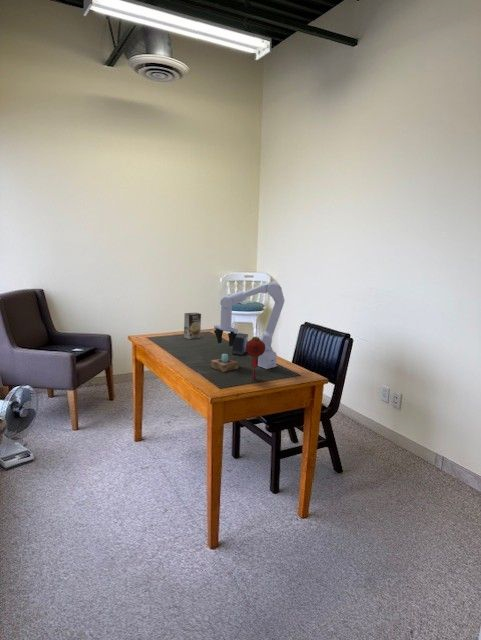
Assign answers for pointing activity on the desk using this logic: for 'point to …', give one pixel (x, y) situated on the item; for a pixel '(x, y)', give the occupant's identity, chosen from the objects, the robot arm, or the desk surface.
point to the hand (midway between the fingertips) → (225, 344)
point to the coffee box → (192, 325)
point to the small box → (240, 344)
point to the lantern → (255, 350)
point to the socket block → (224, 365)
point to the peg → (224, 358)
